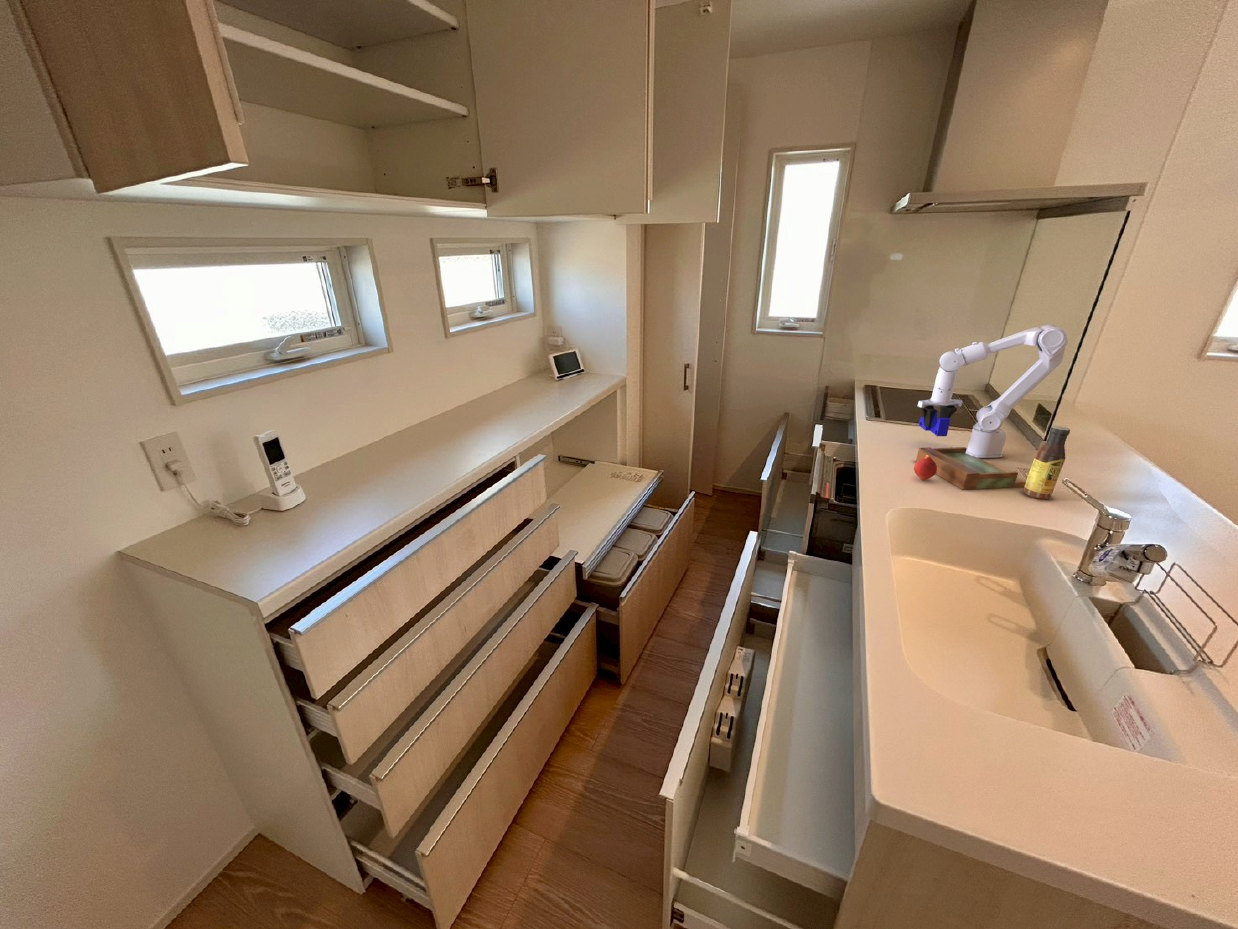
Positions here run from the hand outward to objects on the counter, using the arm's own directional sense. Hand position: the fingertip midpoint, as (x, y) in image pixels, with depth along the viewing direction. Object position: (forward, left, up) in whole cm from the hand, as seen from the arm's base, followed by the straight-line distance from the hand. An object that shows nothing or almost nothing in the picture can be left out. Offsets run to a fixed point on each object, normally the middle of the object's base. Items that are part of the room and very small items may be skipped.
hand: (934, 426), depth 172 cm
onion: (+21, +26, -8) cm, 35 cm away
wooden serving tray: (+4, +23, -8) cm, 25 cm away
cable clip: (0, 0, -2) cm, 2 cm away
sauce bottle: (-4, +39, -8) cm, 40 cm away
